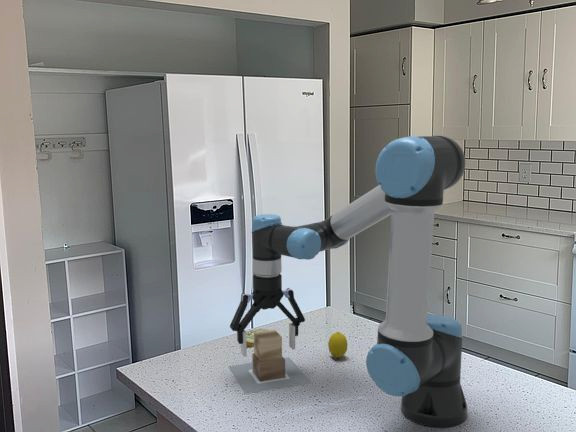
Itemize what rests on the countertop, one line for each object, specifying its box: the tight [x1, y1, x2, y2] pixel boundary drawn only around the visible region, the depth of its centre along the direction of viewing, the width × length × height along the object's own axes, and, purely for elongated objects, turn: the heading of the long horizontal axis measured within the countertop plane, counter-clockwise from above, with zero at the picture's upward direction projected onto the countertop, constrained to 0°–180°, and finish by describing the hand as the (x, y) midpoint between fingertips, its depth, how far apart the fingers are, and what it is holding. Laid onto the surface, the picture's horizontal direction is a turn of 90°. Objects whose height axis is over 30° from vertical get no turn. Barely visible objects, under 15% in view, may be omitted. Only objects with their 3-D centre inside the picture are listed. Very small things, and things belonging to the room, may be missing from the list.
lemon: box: [328, 331, 348, 359], centre depth 167 cm, size 6×6×8 cm
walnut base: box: [251, 352, 285, 382], centre depth 154 cm, size 7×7×5 cm
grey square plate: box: [227, 356, 313, 395], centre depth 154 cm, size 18×18×1 cm
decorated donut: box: [246, 328, 269, 349], centre depth 179 cm, size 10×11×4 cm
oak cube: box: [253, 329, 283, 362], centre depth 153 cm, size 6×6×6 cm
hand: (268, 351), depth 153 cm, fingers open, 13 cm apart
